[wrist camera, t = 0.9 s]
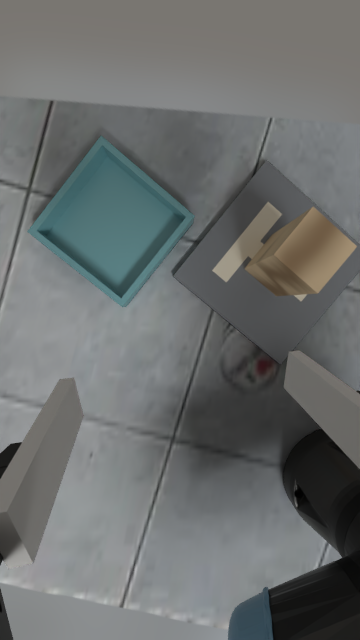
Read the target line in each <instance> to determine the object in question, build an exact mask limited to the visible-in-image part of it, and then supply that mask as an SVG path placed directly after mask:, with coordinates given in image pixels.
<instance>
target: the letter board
mask: <svg viewBox="0 0 360 640" xmlns="http://www.w3.org/2000/svg"><path fill="white" fill-rule="evenodd" d="M312 207H314V208H316V209H317V210H318V211H319V212H320V213H321V214H322V215H323V216H324V217H325V218H327V219H328V220H329V221H330V222H331V223H332V224H333V225H334V226H335V227H336V228H338V229H339V230H340V231H341V232H342V233H343V234H344V235H345V236H346V237H347V238H349V239H350V240H351V241H352V242H353V243H354V244H355V245H356V246H357V247H356V249H355V250H354V251H353V252H352V253H351V255H350V256H349V257H348V258H347V259H346V261H345V262H344V263H343V264H342V265H341V267H340V268H339V269H338V270H337V271H336V273H335V274H334V275H333V276H332V277H331V279H330V280H329V281H328V282H327V283H326V284H325V286H324V287H323V288H322V289H321V290H320V292H319V293H318V294H303V295H288V296H275V295H274V294H273V293H272V292H271V291H269V290H268V289H267V288H266V287H265V286H264V285H262V284H261V283H260V282H259V281H258V280H257V279H255V278H254V277H253V276H252V275H251V274H250V273H248V272H247V271H246V270H245V269H244V268H245V267H246V266H247V265H248V263H249V262H250V261H251V260H252V259H253V257H254V256H255V255H256V254H257V252H258V251H259V250H260V249H261V248H262V246H263V245H264V244H265V243H266V241H267V240H268V239H269V238H270V237H271V235H272V234H274V233H275V232H277V231H278V230H280V229H281V228H283V227H284V226H285V225H287V224H288V223H290V222H291V221H293V220H294V219H296V218H297V217H299V216H300V215H302V214H303V213H304V212H306V211H307V210H309V209H310V208H312ZM359 271H360V244H358V243H357V242H356V241H355V240H354V239H353V238H352V237H351V236H350V235H349V234H348V233H346V232H345V231H344V230H343V229H342V228H341V227H340V226H339V225H338V224H337V223H335V222H334V221H333V220H332V219H331V218H330V217H329V216H328V215H327V214H326V213H325V212H323V211H322V210H321V209H320V208H319V207H318V206H317V205H316V204H315V203H314V202H312V201H311V200H310V199H309V198H308V197H307V196H306V195H305V194H304V193H303V192H302V191H300V190H299V189H298V188H297V187H296V186H295V185H294V184H293V183H292V182H291V181H289V180H288V179H287V178H286V177H285V176H284V175H283V174H282V173H281V172H280V171H279V170H277V169H276V168H275V167H274V166H273V165H272V164H271V163H270V162H269V161H268V160H266V161H265V162H264V164H263V165H262V166H261V167H260V169H259V170H258V171H257V172H256V174H255V175H254V176H253V177H252V179H251V180H250V181H249V182H248V184H247V185H246V186H245V187H244V189H243V190H242V191H241V192H240V194H239V195H238V196H237V197H236V198H235V200H234V201H233V202H232V203H231V205H230V206H229V207H228V208H227V210H226V211H225V212H224V213H223V215H222V216H221V217H220V218H219V220H218V221H217V222H216V223H215V225H214V226H213V227H212V228H211V230H210V231H209V232H208V233H207V235H206V236H205V237H204V238H203V240H202V241H201V242H200V243H199V245H198V246H197V247H196V248H195V249H194V251H193V252H192V253H191V254H190V256H189V257H188V258H187V259H186V261H185V262H184V263H183V264H182V266H181V267H180V268H179V269H178V271H177V272H176V273H175V274H174V276H173V277H174V278H175V279H177V280H178V281H179V282H180V283H181V284H183V285H184V286H185V287H186V288H188V289H189V290H190V291H191V292H192V293H194V294H195V295H196V296H197V297H198V298H200V299H201V300H202V301H203V302H205V303H206V304H207V305H208V306H209V307H211V308H212V309H213V310H214V311H215V312H217V313H218V314H219V315H220V316H221V317H223V318H224V319H225V320H226V321H228V322H229V323H230V324H231V325H232V326H234V327H235V328H236V329H237V330H238V331H240V332H241V333H242V334H243V335H245V336H246V337H247V338H248V339H249V340H251V341H252V342H253V343H254V344H255V345H257V346H258V347H259V348H260V349H261V350H263V351H264V352H265V353H266V354H268V355H269V356H270V357H271V358H272V359H274V360H275V361H276V362H277V363H279V364H280V365H281V364H282V363H283V361H284V360H285V359H286V358H287V357H288V353H289V352H291V351H293V350H294V348H295V347H296V346H297V345H298V344H299V342H300V341H301V340H302V339H303V338H304V336H305V335H306V334H307V333H308V332H309V331H310V329H311V328H312V327H313V326H314V325H315V323H316V322H317V321H318V320H319V319H320V317H321V316H322V315H323V314H324V313H325V312H326V310H327V309H328V308H329V307H330V306H331V304H332V303H333V302H334V301H335V300H336V298H337V297H338V296H339V295H340V294H341V293H342V291H343V290H344V289H345V288H346V287H347V285H348V284H349V283H350V282H351V281H352V279H353V278H354V277H355V276H356V275H357V274H358V272H359Z"/></svg>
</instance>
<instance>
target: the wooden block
mask: <svg viewBox="0 0 360 640" xmlns="http://www.w3.org/2000/svg"><path fill="white" fill-rule="evenodd" d="M356 247H357V246H356V245H355V244H354V243H353V242H352V241H351V240H350V239H349V238H347V237H346V236H345V235H344V234H343V233H342V232H341V231H340V230H339V229H338V228H336V227H335V226H334V225H333V224H332V223H331V222H330V221H329V220H328V219H327V218H325V217H324V216H323V215H322V214H321V213H320V212H319V211H318V210H317V209H316V208H314V207H312V208H310V209H309V210H307V211H306V212H304V213H303V214H302V215H300V216H299V217H297V218H296V219H294V220H293V221H291V222H290V223H288V224H287V225H285V226H284V227H283V228H281V229H280V230H278V231H277V232H275V233H274V234H272V235H271V237H270V238H269V239H268V240H267V241H266V243H265V244H264V245H263V246H262V248H261V249H260V250H259V251H258V252H257V254H256V255H255V256H254V257H253V259H252V260H251V261H250V262H249V263H248V265H247V266H246V267H245V268H244V269H245V270H246V271H247V272H248V273H250V274H251V275H252V276H253V277H254V278H255V279H257V280H258V281H259V282H260V283H261V284H262V285H264V286H265V287H266V288H267V289H268V290H269V291H271V292H272V293H273V294H274V295H275V296H288V295H303V294H318V293H319V292H320V290H321V289H322V288H323V287H324V286H325V284H326V283H327V282H328V281H329V280H330V279H331V277H332V276H333V275H334V274H335V273H336V271H337V270H338V269H339V268H340V267H341V265H342V264H343V263H344V262H345V261H346V259H347V258H348V257H349V256H350V255H351V253H352V252H353V251H354V250H355V249H356Z"/></svg>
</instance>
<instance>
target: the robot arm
mask: <svg viewBox="0 0 360 640" xmlns="http://www.w3.org/2000/svg"><path fill="white" fill-rule="evenodd" d="M284 388H285V390H286V391H287V392H288V393H289V394H290V395H291V396H292V397H293V398H294V399H295V400H296V401H297V402H298V403H299V405H300V406H301V407H302V408H303V409H304V410H305V411H306V412H307V413H308V414H309V415H310V416H311V417H312V419H313V420H314V421H315V422H316V423H317V424H318V425H319V426H320V427H321V428H322V430H318V431H316V432H313V433H311V434H310V435H308V436H306V437H305V438H304V439H302V440H301V441H300V442H299V443H298V444H297V445H296V446H295V447H294V449H293V450H292V452H291V453H290V455H289V457H288V459H287V461H286V465H285V469H284V486H285V490H286V493H287V495H288V497H289V499H290V501H291V502H292V504H293V506H294V507H295V509H296V511H297V512H298V513H299V515H300V516H301V517H302V518H303V520H304V521H305V522H307V523H308V524H309V525H310V526H311V527H312V528H313V529H314V530H315V531H316V532H317V533H318V534H319V535H321V536H322V537H323V538H324V539H325V540H326V541H327V542H328V543H329V544H330V545H331V546H332V547H334V548H335V549H336V550H337V551H338V552H339V554H340V555H341V556H342V558H341V559H339V560H337V561H333V562H331V563H329V564H327V565H324V566H322V567H320V568H317V569H315V570H313V571H310V572H308V573H306V574H303V575H301V576H299V577H297V578H294V579H292V580H290V581H287V582H285V583H283V584H280V585H278V586H276V587H274V588H271V589H269V590H268V587H265V588H264V589H263V592H261V593H259V594H258V595H256V596H254V597H252V598H250V599H248V600H246V601H244V602H242V603H241V604H239V605H238V606H237V607H236V608H235V609H234V611H233V613H232V616H231V619H230V623H229V631H228V640H360V391H355V390H354V389H352V388H351V387H350V386H348V385H347V384H345V383H344V382H343V381H341V380H340V379H338V378H337V377H336V376H334V375H333V374H332V373H330V372H329V371H327V370H326V369H325V368H323V367H322V366H321V365H319V364H318V363H316V362H315V361H314V360H312V359H311V358H309V357H308V356H307V355H305V354H304V353H303V352H301V351H300V350H299V351H291V352H289V353H288V360H287V367H286V373H285V380H284ZM83 416H84V415H83V411H82V407H81V403H80V399H79V395H78V391H77V387H76V383H75V380H74V378H67V379H60V380H59V382H58V383H57V385H56V387H55V388H54V390H53V392H52V393H51V395H50V397H49V398H48V400H47V402H46V403H45V405H44V407H43V408H42V410H41V412H40V413H39V415H38V417H37V418H36V420H35V422H34V423H33V425H32V427H31V428H30V430H29V432H28V434H27V435H26V437H25V439H24V440H23V442H20V443H14V444H10V445H9V446H8V447H7V448H6V449H5V450H4V451H3V452H1V453H0V565H1V562H2V560H3V561H4V562H5V564H6V566H7V567H8V569H11V568H15V567H20V566H25V565H29V564H33V563H34V560H35V557H36V554H37V551H38V548H39V545H40V542H41V540H42V537H43V534H44V531H45V528H46V525H47V522H48V519H49V516H50V513H51V510H52V507H53V504H54V501H55V498H56V495H57V493H58V490H59V487H60V484H61V481H62V478H63V475H64V472H65V469H66V466H67V463H68V460H69V457H70V454H71V451H72V449H73V446H74V443H75V440H76V437H77V434H78V431H79V428H80V425H81V422H82V419H83ZM0 640H13V637H12V633H11V629H10V625H9V621H8V617H7V613H6V609H5V605H4V601H3V597H2V593H1V589H0Z"/></svg>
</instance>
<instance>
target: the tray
mask: <svg viewBox="0 0 360 640" xmlns="http://www.w3.org/2000/svg"><path fill="white" fill-rule="evenodd" d="M194 218H195V216H194V215H193V214H192V213H191V212H190V211H188V210H187V209H186V208H185V207H184V206H183V205H181V204H180V203H179V202H178V201H177V200H176V199H174V198H173V197H172V196H171V195H170V194H169V193H168V192H166V191H165V190H164V189H163V188H162V187H161V186H159V185H158V184H157V183H156V182H155V181H154V180H152V179H151V178H150V177H149V176H148V175H147V174H145V173H144V172H143V171H142V170H141V169H140V168H138V167H137V166H136V165H135V164H134V163H133V162H131V161H130V160H129V159H128V158H127V157H126V156H124V155H123V154H122V153H121V152H120V151H119V150H117V149H116V148H115V147H114V146H113V145H112V144H110V143H109V142H108V141H107V140H106V139H105V138H103V137H102V136H100V137H99V139H98V140H97V141H96V143H95V144H94V145H93V147H92V148H91V149H90V150H89V152H88V153H87V154H86V156H85V157H84V158H83V160H82V161H81V162H80V164H79V165H78V166H77V167H76V169H75V170H74V171H73V173H72V174H71V175H70V177H69V178H68V179H67V181H66V182H65V183H64V184H63V186H62V187H61V188H60V190H59V191H58V192H57V194H56V195H55V196H54V197H53V199H52V200H51V201H50V203H49V204H48V205H47V207H46V208H45V209H44V211H43V212H42V213H41V214H40V216H39V217H38V218H37V220H36V221H35V222H34V224H33V225H32V226H31V228H30V229H29V230H28V231H27V232H28V233H30V234H31V235H32V236H33V237H35V238H36V239H37V240H38V241H40V242H41V243H42V244H44V245H45V246H46V247H47V248H49V249H50V250H51V251H52V252H54V253H55V254H56V255H57V256H59V257H60V258H61V259H62V260H64V261H65V262H66V263H67V264H69V265H70V266H71V267H72V268H74V269H75V270H76V271H78V272H79V273H80V274H81V275H83V276H84V277H85V278H86V279H88V280H89V281H90V282H91V283H93V284H94V285H95V286H96V287H98V288H99V289H100V290H101V291H103V292H104V293H105V294H106V295H108V296H109V297H110V298H112V299H113V300H114V301H115V302H117V303H118V304H119V305H120V306H122V307H126V306H127V305H128V304H129V303H130V301H131V300H132V299H133V298H134V296H135V295H136V294H137V293H138V291H139V290H140V289H141V288H142V286H143V285H144V284H145V283H146V281H147V280H148V279H149V278H150V276H151V275H152V274H153V273H154V271H155V270H156V269H157V268H158V266H159V265H160V264H161V263H162V261H163V260H164V259H165V258H166V256H167V255H168V254H169V253H170V251H171V250H172V249H173V248H174V246H175V245H176V244H177V243H178V241H179V240H180V239H181V238H182V236H183V235H184V234H185V233H186V231H187V230H188V229H189V228H190V226H191V225H192V224H193V221H194Z"/></svg>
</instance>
